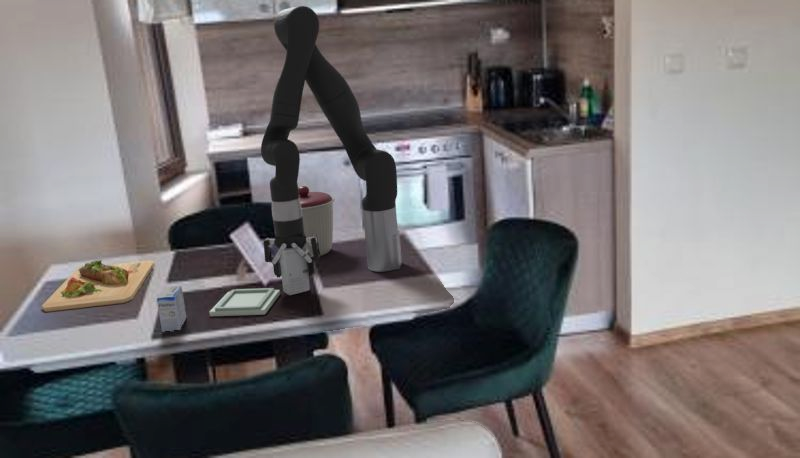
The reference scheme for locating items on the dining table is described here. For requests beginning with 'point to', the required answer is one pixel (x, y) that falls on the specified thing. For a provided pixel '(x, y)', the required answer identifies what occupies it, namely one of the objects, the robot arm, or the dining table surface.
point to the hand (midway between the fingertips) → (294, 275)
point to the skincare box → (294, 271)
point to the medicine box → (171, 308)
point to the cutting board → (99, 285)
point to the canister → (317, 217)
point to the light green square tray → (245, 302)
